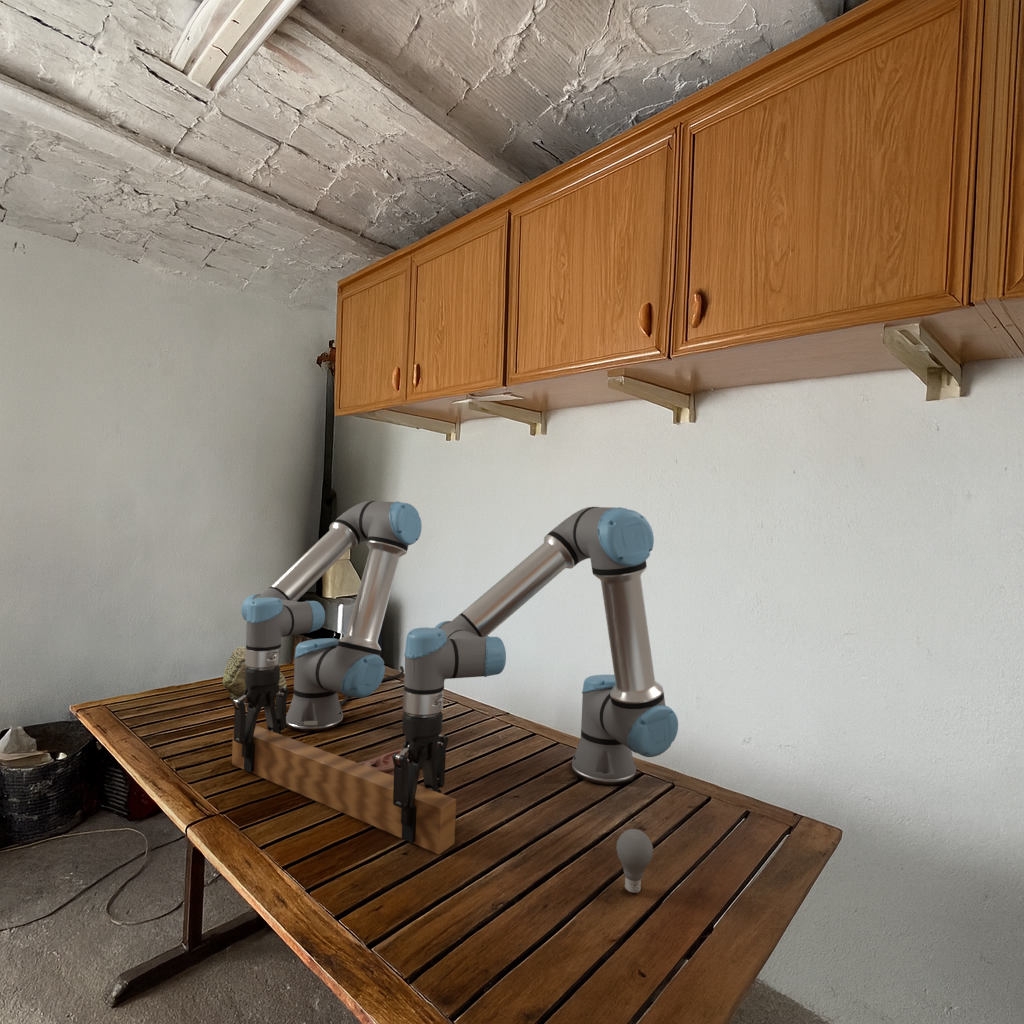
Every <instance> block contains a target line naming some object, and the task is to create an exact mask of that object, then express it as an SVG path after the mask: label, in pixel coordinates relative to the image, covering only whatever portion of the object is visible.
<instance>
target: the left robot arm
mask: <svg viewBox="0 0 1024 1024" xmlns="http://www.w3.org/2000/svg"><path fill="white" fill-rule="evenodd" d="M422 526H423V525H422V519H421V516H420V513H419V511H418V509H416V507H415V506H414V505H412V504H411V503H408V502H401V501H385V500H383V501H382V500H380V501H379V500H365V501H362V502H359V503H357V504H355V505H353V506H352V507H351V508H349V509H347V510H346V511H345V512H343V513H342V514H341V515H340V516H338V517H337V518H336V519H335V520H334V521H332V523H330V524H329V527H328V529H329V530H328V531H327V532H326V533H325V534H324V535H323V536H322V537H321V538H320V539H319V540H318V541H317V542H316V543H315V544H313V545H312V546H311V547H310V548H309V549H308V550H307V551H306V552H305V553H304V554H303V555H302V556H301V557H300V558H299V559H297V561H296V562H294V563H293V564H292V565H291V566H290V567H289V568H288V569H286V571H285V572H283V574H282V575H281V576H280V577H279V578H278V579H276V580H275V582H273V583H272V584H271V585H269V587H268V588H267V589H266V590H264V592H262V593H261V594H260V593H259V594H258V593H257V594H251V595H249V596H248V597H246V598H245V599H244V601H243V602H242V604H241V609H240V611H241V613H240V614H241V617H242V618H243V620H244V621H245V622H246V629H245V631H246V633H245V634H246V635H245V637H246V638H245V647H246V656H245V665H246V666H247V668H246V669H245V685H246V689H245V692H244V695H243V696H242V697H240V698H232V699H233V700H232V701H231V702H232V706H233V709H234V713H233V714H234V717H233V729H234V741H235V742H238V743H240V744H242V757H244V769H243V770H244V771H246V772H248V773H250V774H253V773H252V772H254V759H255V743H253V742H252V739H253V735H254V731H255V726H257V722H258V717H259V714H261V711H262V708H263V711H264V716H265V722H266V726H267V727H266V728H267V730H270V731H272V732H275V733H278V734H280V735H282V732H281V731H285V729H286V728H287V729H289V730H291V731H294V732H295V731H296V732H301V733H316V732H325V731H329V730H332V729H335V728H337V727H339V726H340V725H342V723H343V722H344V714H343V709H342V706H343V705H344V704H346V703H347V701H348V700H349V699H350V698H357V699H365V698H367V697H370V696H371V695H372V694H373V693H374V692H376V691H377V690H378V688H380V686H381V684H382V682H386V681H390V680H394V679H398V678H400V677H402V676H403V675H404V674H405V667H404V666H403V665H400V666H399V671H400V673H397V674H395V675H390V676H387V677H384V676H385V673H386V666H385V660H384V659H383V658H382V657H381V651H382V648H381V646H380V644H379V642H378V641H379V637H380V633H381V630H382V627H383V623H384V619H385V615H386V611H387V608H388V604H389V599H390V596H391V592H392V588H393V584H394V581H395V577H396V573H397V571H398V565H399V562H400V558H401V557H403V556H405V555H406V554H407V553H408V549H409V546H412V545H413V544H415V543H417V541H418V540H419V539H420V536H421V533H422ZM364 542H365V544H366V546H367V547H368V550H369V551H368V555H367V559H366V561H365V567H364V569H363V573H362V577H361V580H360V584H359V588H358V590H357V595H356V598H355V602H354V606H353V608H352V612H351V613H352V614H351V615H350V620H349V624H348V627H347V631H346V634H345V635H344V636H342V637H341V638H339V639H338V638H335V637H333V638H332V637H329V638H315V639H308V640H304V641H302V642H299V643H298V644H297V645H296V646H295V652H294V653H295V654H294V656H293V659H294V661H293V662H294V663H293V664H294V668H293V695H292V696H293V697H292V699H291V702H290V704H289V708H288V711H287V704H288V703H287V702H288V695H289V693H290V688H288V687H282V686H280V687H279V684H278V682H279V681H280V672H281V667H280V664H281V657H282V656H281V655H282V654H281V653H282V652H281V651H282V639H283V638H285V637H290V636H296V635H297V636H298V635H302V634H310V633H311V632H315V631H318V630H320V629H322V627H323V626H324V624H325V620H326V612H325V608H324V606H323V605H322V604H321V603H320V602H319V601H316V600H305V601H299V600H300V599H301V597H303V596H304V595H305V593H306V592H308V590H309V589H310V588H312V587H313V586H314V584H316V583H317V581H319V580H320V578H322V577H323V575H325V574H326V573H327V572H328V571H329V570H330V569H331V568H332V567H333V566H334V564H336V563H337V562H338V560H340V558H342V557H343V556H344V555H345V554H346V552H348V551H349V550H354V549H355V548H357V546H359V545H360V544H361V543H364ZM338 694H340V695H344V696H345V697H344V699H342V700H341V701H340V699H339V695H338Z"/></svg>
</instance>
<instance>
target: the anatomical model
mask: <svg viewBox="0 0 1024 1024" xmlns="http://www.w3.org/2000/svg"><path fill="white" fill-rule="evenodd" d="M402 750H403V749H397V750H393V751H390V752H387V753H383V754H381V755H378V756H375V757H373V758H370V759H367V760H363V761H359V762H358V763H359V764H362V765H365V766H367V767H370V768H373V769H376V770H378V771H381V772H384V773H386V774H389V775H392V776H394V763H393V759H392V756H393V754H394V753H398V754H399V753H400V752H401V751H402Z"/></svg>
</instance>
